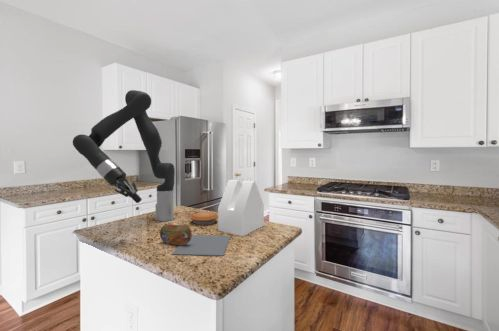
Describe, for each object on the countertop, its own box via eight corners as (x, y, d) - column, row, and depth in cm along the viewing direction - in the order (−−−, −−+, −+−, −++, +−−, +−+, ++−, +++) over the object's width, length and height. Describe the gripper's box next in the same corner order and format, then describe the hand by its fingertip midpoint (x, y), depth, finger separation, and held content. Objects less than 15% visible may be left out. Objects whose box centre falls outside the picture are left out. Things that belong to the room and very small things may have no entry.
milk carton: (243, 236, 115) (243, 183, 113) (218, 230, 123) (218, 181, 122) (263, 226, 131) (263, 180, 129) (240, 221, 139) (240, 178, 138)
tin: (160, 243, 106) (158, 223, 105) (165, 240, 108) (163, 221, 108) (188, 246, 100) (187, 226, 99) (193, 243, 103) (192, 224, 102)
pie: (189, 219, 143) (189, 211, 143) (216, 218, 147) (216, 209, 147) (190, 227, 128) (190, 218, 128) (219, 225, 132) (219, 216, 132)
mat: (171, 254, 93) (171, 253, 93) (188, 235, 115) (188, 234, 115) (223, 256, 92) (223, 255, 92) (230, 236, 114) (230, 235, 114)
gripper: (107, 166, 97) (138, 197, 97) (125, 165, 110) (152, 193, 110) (95, 180, 98) (125, 210, 97) (114, 177, 111) (141, 204, 111)
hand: (139, 201), depth 104 cm, fingers closed
